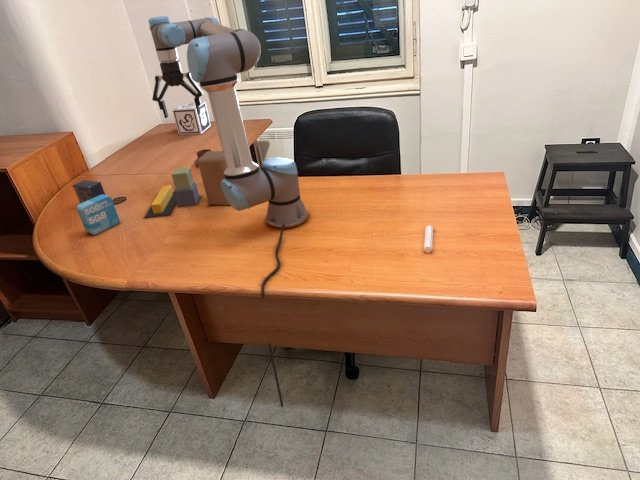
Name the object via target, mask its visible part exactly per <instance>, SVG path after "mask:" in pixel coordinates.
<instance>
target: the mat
mask: <svg viewBox="0 0 640 480" xmlns="http://www.w3.org/2000/svg"><path fill="white" fill-rule="evenodd" d="M172 192H173V195H172V197H171V198H170V200H169V202H168V204H167V206H166V207H165V209H164V211H163V213H157V214H154V212H153V209H152V206H151V205H150V207H149V209H148V211H147V212H146V214H145V216H144V219H149V218H158V217H159V218H160V217H168V216H171V214H172V212H173V210H174V208H175V206H176V205H177V202H176V198H175V195H174V191H172Z"/></svg>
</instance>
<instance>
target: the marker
mask: <svg viewBox="0 0 640 480" xmlns="http://www.w3.org/2000/svg"><path fill="white" fill-rule="evenodd" d="M433 238H434V228H433V226H432V225H431V224H428V225H427V226H426V227H425V232H424V245H423V251H424V252H425V253H426V254H427V253H428V254H430V253H431V252H432V251H433Z"/></svg>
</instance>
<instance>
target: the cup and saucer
mask: <svg viewBox="0 0 640 480" xmlns="http://www.w3.org/2000/svg"><path fill="white" fill-rule="evenodd" d="M207 151H212V150H211V149H210V148H209V149H208V148H207V149H201V150H198V151H197V152H196V157H197V158H195V160H193V164H194V165H195V166H198V167H199V165H198V159H199V158H200V157H201V156H203V155H204V154H205V153H206V152H207Z"/></svg>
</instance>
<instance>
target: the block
mask: <svg viewBox="0 0 640 480" xmlns="http://www.w3.org/2000/svg"><path fill="white" fill-rule="evenodd" d="M197 159H198V158H197ZM198 165H199V166H198V168H199V172H200V176H201V181H202V185H203V188H204V192H205V196H206V200H207V205H210V206H231V205H230V204H229V202H228V201H227V199H226V198H225V196H224V193H223V191H222V188H221V181H222V180H223V179H225V176H224V171H225V170H226V168H227V165H226V161H225V158H224V154H223V150H211V151H207V152H206V153H205V154H204V155H203V156H201V157H200V158H199V159H198Z"/></svg>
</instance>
